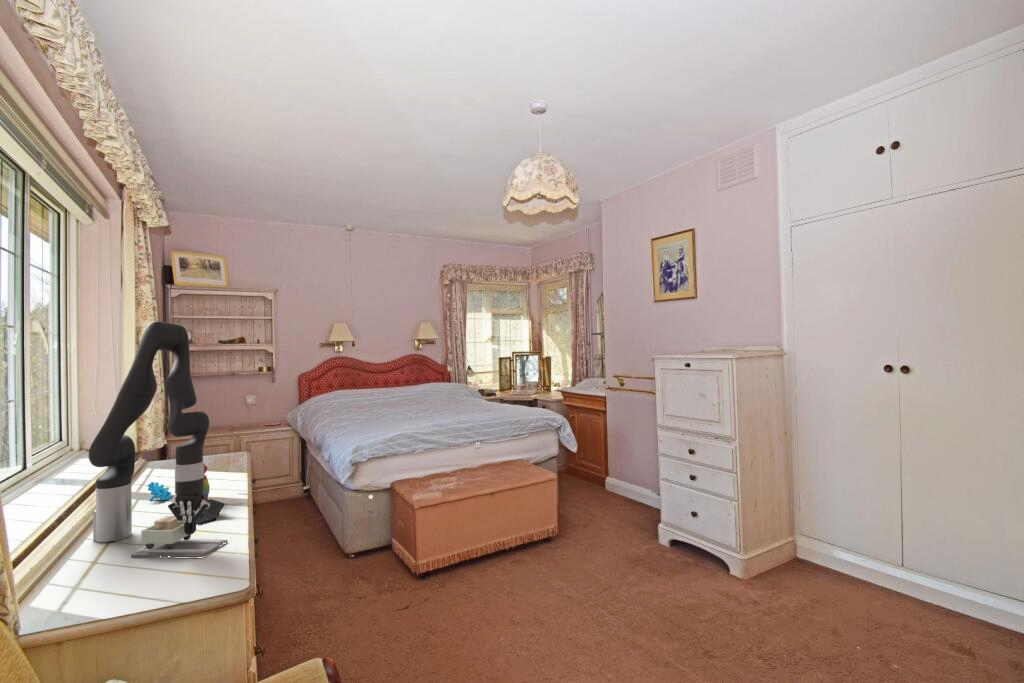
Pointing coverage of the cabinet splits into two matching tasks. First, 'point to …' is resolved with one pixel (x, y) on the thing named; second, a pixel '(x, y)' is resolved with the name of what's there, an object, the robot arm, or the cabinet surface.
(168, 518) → the block
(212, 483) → the cabinet surface
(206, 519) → the dark piece
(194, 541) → the track
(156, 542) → the mint green tray
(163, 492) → the blue bumpy figure
